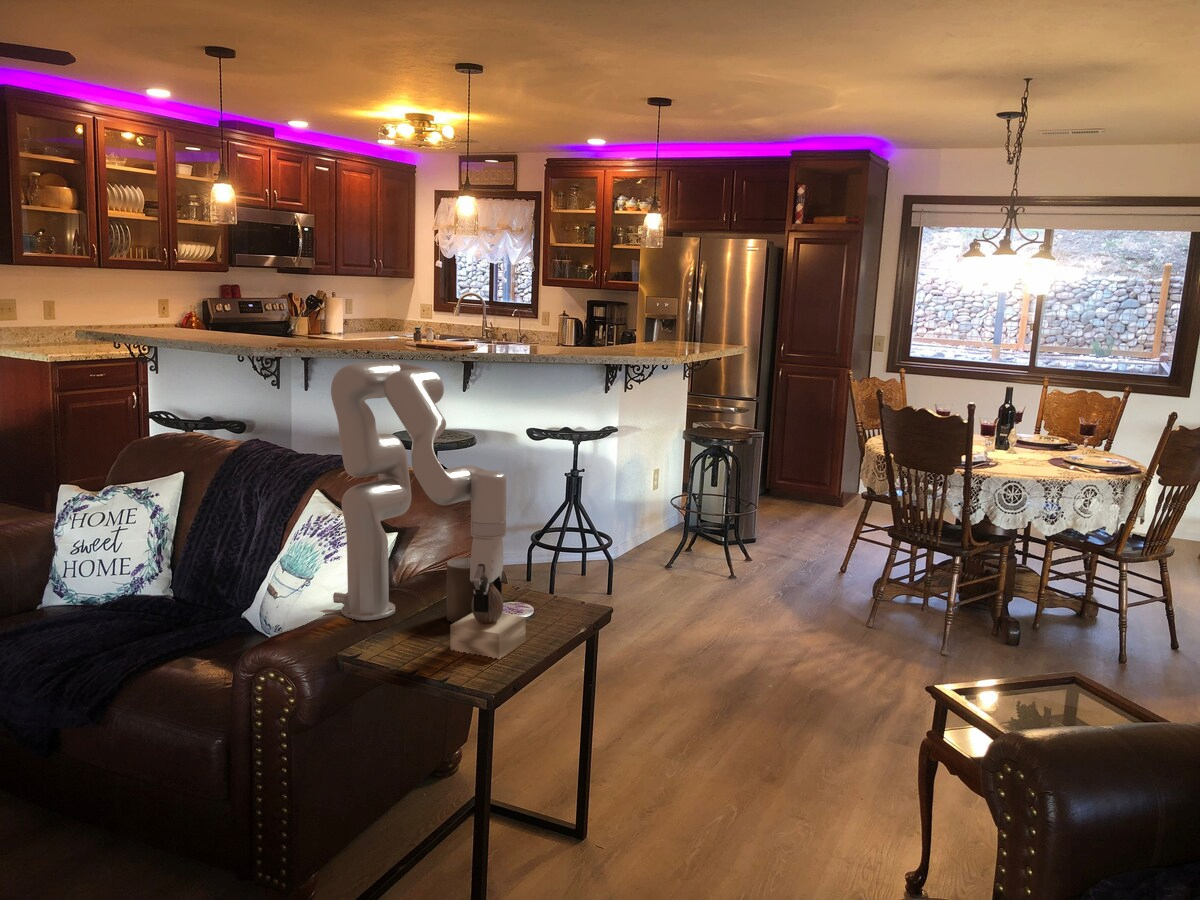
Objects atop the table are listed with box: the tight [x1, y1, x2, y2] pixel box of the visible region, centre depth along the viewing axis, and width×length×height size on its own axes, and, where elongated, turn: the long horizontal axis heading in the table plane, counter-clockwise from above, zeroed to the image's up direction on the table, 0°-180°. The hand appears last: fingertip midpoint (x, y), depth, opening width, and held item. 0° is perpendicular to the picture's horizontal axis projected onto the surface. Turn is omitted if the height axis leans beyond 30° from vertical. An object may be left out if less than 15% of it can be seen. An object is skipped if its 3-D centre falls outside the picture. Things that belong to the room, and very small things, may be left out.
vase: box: [472, 582, 504, 624], centre depth 208 cm, size 7×7×9 cm
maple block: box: [449, 612, 527, 660], centre depth 209 cm, size 12×12×6 cm
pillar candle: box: [445, 557, 487, 624], centre depth 226 cm, size 10×10×15 cm
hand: (488, 604), depth 208 cm, fingers open, 9 cm apart
